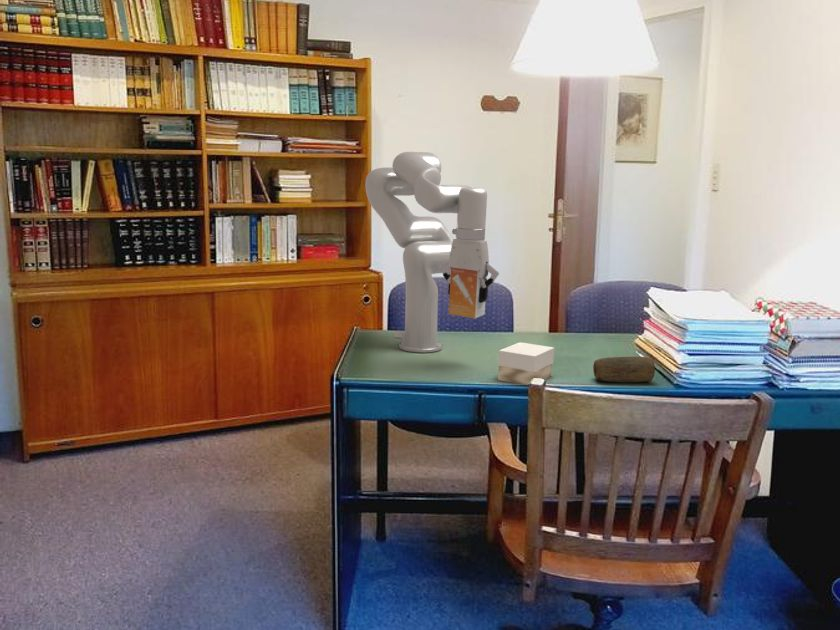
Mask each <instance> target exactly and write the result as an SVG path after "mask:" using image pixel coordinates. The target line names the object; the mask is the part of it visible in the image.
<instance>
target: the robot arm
mask: <svg viewBox="0 0 840 630" xmlns="http://www.w3.org/2000/svg"><path fill="white" fill-rule="evenodd" d="M441 172H442V164H441V161H440V159H439V157H438V156H437V155H436V154H434V153H433V152H428V151H427V152H425V151H423V152H422V151H404V152H401V153H399V154H397V155H396V156H395V157H394V159H393V161H392V167H378V168H375V169H373V170H370V171H369V173H368V174H367V175H366V178H365V193H366V197H367V199H368V202H369V203H370V205H371V207H372V209H373V210H374V211H375V212H376V214H378V216H379V217H380V218H381V219H382V221H383V222H384V224H385V226H386V228H387V229H388V231H389V233H390V235H391V236H392V238H393V239H394V241H395V242H396V244H397V245H398V246H399V247H400V248H402V249H404V250H403V252H402V262H403V268H404V278H405V279H404V280H405V305H404V306H405V309H404V312H405V314H404V331H397V330H395V332H394V334H393V338H394V339H397V340H401V342H399V343H398V344H399V349H400V350H402V351H404V352H410V353H423V354H424V353H434V352H439V351H441V350H442V349H443V345H442V343H441V342H438V319H439V318H438V315H439V314H438V313H439V307H438V306H439V288H438V285H437V283H436V281H435V279H434V277H433V275H434V274H442V276H443V278H444V279H445V280H446V283H447V285H448V288H447V289H448V292H447V294H448V295H449V296H450V278H451V267H455V268H463V269H471V270H480V271H479V272H478V279H480V284H481V288H480V290H479V302H480V303H482V302H485V303H486V301H487V299H488V291H489V287H490V286H491V285H492V284H493V283H494V282H495V280H497V278H498V277H499V275H500V273H499V271H497V270H496V269H495V268H494V267H493V266H491V265H490V264H489V262H490V259H489V247H488V240H486V222H487V204H488V203H487V202H488V192H487V190H486V189H485V188H482V187H481V188H480V187H472V186H469V185H461V184H441V181H442V180H441V179H442V175H441ZM397 196H398V197H399V196H404V197H405V196H406V197H407V196H414V199H415V201H416V202H417V204H418V205H419V206H421V207H422V208H424V209H425V210H426V211H428V212H430V213H433V214H457V216H456V217H457V218H456V228H453V229H452V230H451V232H449V230H448V228H447V227H446V225H445V224H444V223H443V222H442V220H440V219H439V218H437V217H434V216H419V215H418V216H417V215H414V214H413V212H411V210H410V208H409V207H408V206H407V204H406V203H404V201H402V200H401V199H399V198H398V197H397ZM451 233H452V235H455V238H454V237H453V236H452V235H451ZM485 270H486V275H484V274H485ZM489 273H490V277H489V278H488V275H489ZM486 277H487V278H486ZM483 278H484V279H483ZM449 296H448V297H449Z"/></svg>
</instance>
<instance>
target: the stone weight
mask: <svg viewBox="0 0 840 630" xmlns="http://www.w3.org/2000/svg"><path fill="white" fill-rule="evenodd" d="M592 368H593V375H594V377H595V380H597V381H601V382H609V383H643V382H650V381H652V380H653V379H654V377H655V368H656V365H655V361H654V359H652V358H651V357H650V358H649V357H646V356H616V357H615V356H612V357H602V358H599V359H596V360H594V362H593V366H592Z"/></svg>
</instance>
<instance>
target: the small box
mask: <svg viewBox="0 0 840 630" xmlns="http://www.w3.org/2000/svg"><path fill="white" fill-rule="evenodd" d="M479 271H480V270H471V269H463V268H455V267H451V278H450V296H448V298H449V299H448V315H451V316H452V315H453V316H458V317H464V318H469V319H470V318H471V319H477V318H480V317H483V316H484V315H485V314H486V301H485V302H482V303H480V302H479V290H480V288H481V284H480V279H478V272H479ZM484 275H486V270H485V274H484ZM486 278H487V279H488V276H487V277H486ZM483 279H484V278H483Z"/></svg>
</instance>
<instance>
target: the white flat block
mask: <svg viewBox="0 0 840 630" xmlns="http://www.w3.org/2000/svg"><path fill="white" fill-rule="evenodd" d="M554 362H555V347H553V346H547V345H540V344H534V343H529V342H528V343H527V342H520V341H519V342H517V343H515V344H512V345H510V346H507V347H505V348H502V349H499V350H498V365H497V366H498V367H499V366H503V367H508V368H514V369H520V370H526V371H531V372H536V371H538V370H540V369H542V368H544V367H546V366H548V365H550V364H552V365H553V364H554Z"/></svg>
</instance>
